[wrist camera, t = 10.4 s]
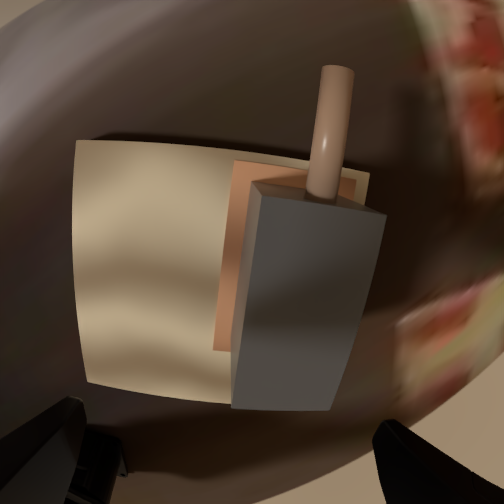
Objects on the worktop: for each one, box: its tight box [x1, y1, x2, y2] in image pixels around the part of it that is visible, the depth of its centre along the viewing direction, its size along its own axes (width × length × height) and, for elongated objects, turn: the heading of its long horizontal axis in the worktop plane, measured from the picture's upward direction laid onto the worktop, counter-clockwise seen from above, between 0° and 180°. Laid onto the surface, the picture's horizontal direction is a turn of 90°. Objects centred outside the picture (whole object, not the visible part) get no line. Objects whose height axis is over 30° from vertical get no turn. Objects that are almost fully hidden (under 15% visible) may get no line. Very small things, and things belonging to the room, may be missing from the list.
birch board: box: [72, 140, 370, 404], centre depth 18 cm, size 16×16×2 cm
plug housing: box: [230, 65, 387, 411], centre depth 14 cm, size 14×4×6 cm, turn 172°
